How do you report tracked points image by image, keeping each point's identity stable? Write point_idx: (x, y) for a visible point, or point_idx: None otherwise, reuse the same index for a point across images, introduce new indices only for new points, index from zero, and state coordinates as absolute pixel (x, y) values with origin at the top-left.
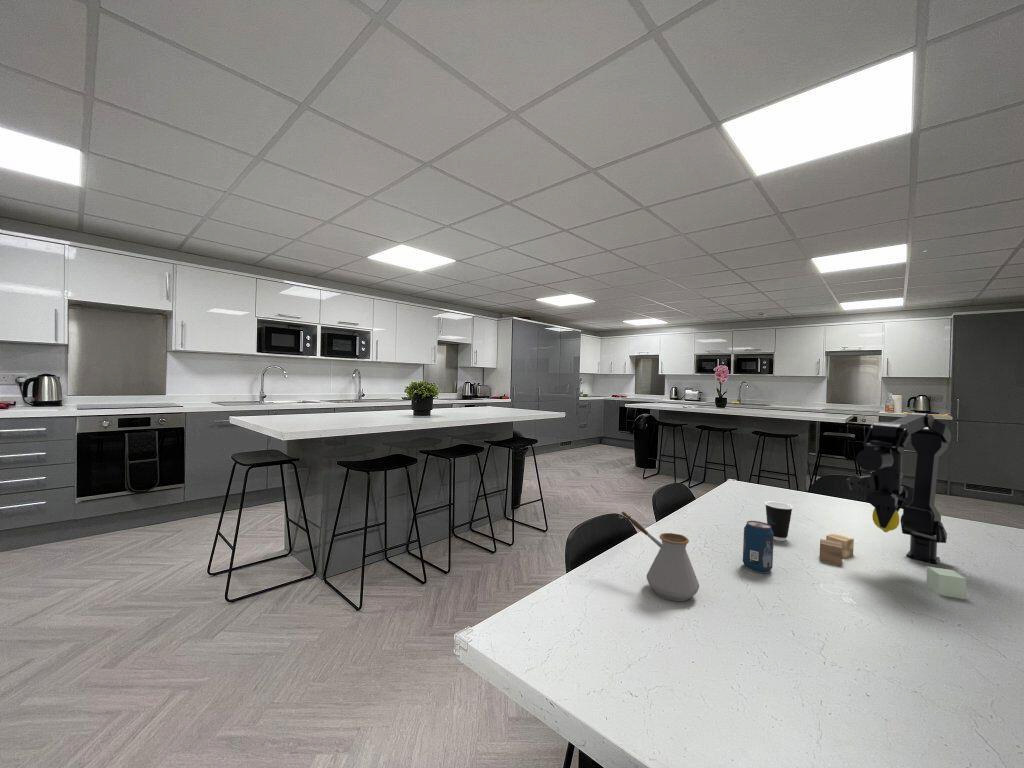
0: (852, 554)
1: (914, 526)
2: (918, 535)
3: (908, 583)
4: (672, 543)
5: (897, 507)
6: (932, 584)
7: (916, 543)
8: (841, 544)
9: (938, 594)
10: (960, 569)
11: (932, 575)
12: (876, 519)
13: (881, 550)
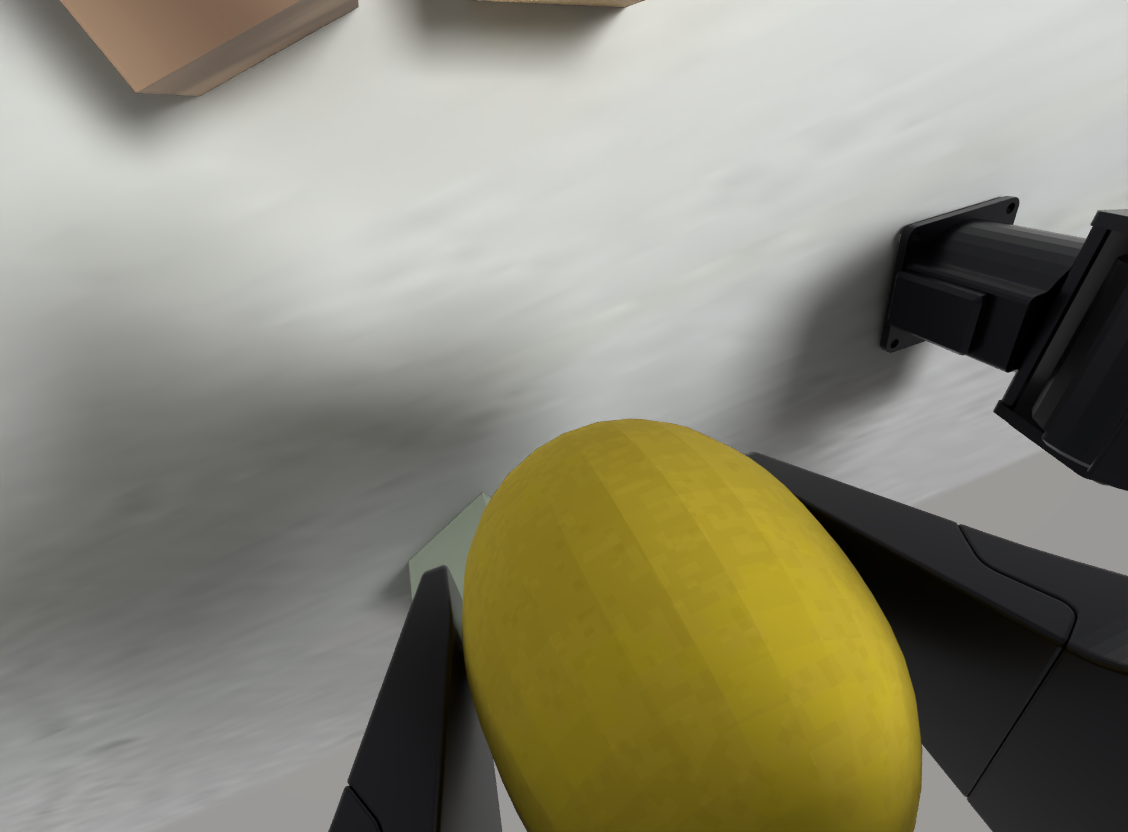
0: (615, 4)
1: (1110, 349)
2: (1063, 315)
3: (409, 459)
4: None
5: (968, 777)
6: (448, 549)
7: (980, 304)
8: (284, 2)
9: (410, 562)
10: (880, 412)
11: (456, 584)
12: (473, 584)
13: (929, 82)
